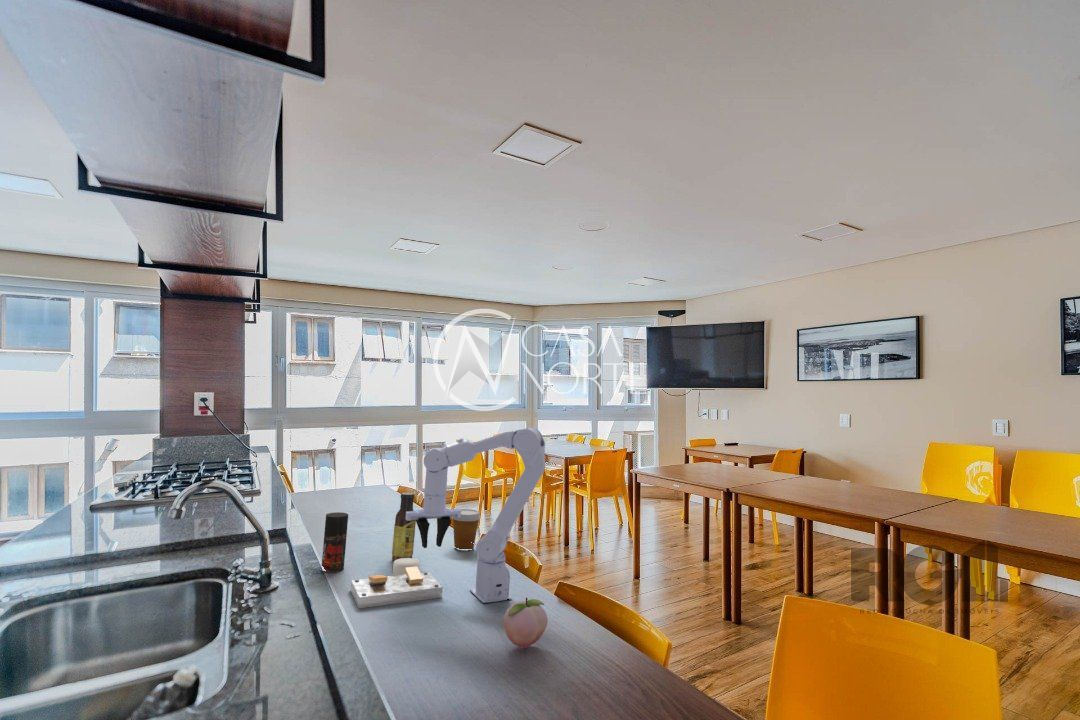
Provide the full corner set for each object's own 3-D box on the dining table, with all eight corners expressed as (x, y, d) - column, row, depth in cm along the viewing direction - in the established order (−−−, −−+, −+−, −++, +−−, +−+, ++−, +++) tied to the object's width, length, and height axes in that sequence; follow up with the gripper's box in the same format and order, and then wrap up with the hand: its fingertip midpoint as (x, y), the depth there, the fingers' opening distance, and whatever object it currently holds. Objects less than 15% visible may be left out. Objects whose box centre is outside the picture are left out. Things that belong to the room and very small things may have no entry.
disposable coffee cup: (463, 554, 167) (466, 516, 168) (443, 548, 172) (446, 511, 173) (484, 548, 174) (486, 512, 175) (464, 542, 180) (466, 507, 181)
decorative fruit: (522, 633, 113) (525, 586, 114) (552, 646, 108) (555, 597, 108) (492, 648, 106) (495, 597, 106) (522, 663, 100) (525, 609, 101)
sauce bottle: (406, 564, 154) (412, 496, 155) (387, 562, 155) (392, 494, 157) (416, 558, 160) (421, 492, 162) (397, 556, 161) (402, 490, 163)
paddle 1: (387, 581, 128) (387, 577, 128) (373, 583, 127) (374, 578, 127) (381, 578, 133) (381, 574, 133) (368, 580, 132) (369, 576, 132)
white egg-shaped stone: (421, 579, 143) (422, 564, 143) (395, 582, 139) (397, 567, 140) (414, 571, 149) (415, 556, 149) (389, 574, 146) (391, 559, 146)
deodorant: (316, 569, 145) (321, 514, 146) (333, 564, 150) (338, 511, 152) (331, 574, 142) (336, 518, 144) (348, 568, 148) (352, 514, 149)
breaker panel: (441, 597, 130) (442, 584, 131) (358, 608, 121) (359, 594, 121) (427, 581, 141) (428, 569, 141) (350, 590, 132) (351, 577, 132)
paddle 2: (422, 582, 133) (423, 578, 132) (410, 583, 131) (410, 579, 131) (416, 569, 138) (417, 566, 138) (404, 571, 136) (405, 567, 136)
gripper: (456, 490, 146) (452, 540, 145) (404, 492, 139) (400, 544, 138) (465, 495, 140) (461, 547, 139) (411, 497, 133) (407, 552, 132)
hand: (431, 546), depth 138 cm, fingers open, 3 cm apart
